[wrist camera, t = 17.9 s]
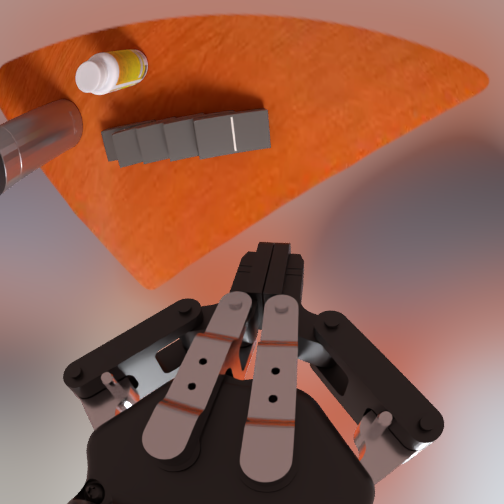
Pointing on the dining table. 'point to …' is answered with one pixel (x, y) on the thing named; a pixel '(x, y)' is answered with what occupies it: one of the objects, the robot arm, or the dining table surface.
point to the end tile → (109, 141)
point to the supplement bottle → (111, 71)
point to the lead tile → (232, 133)
